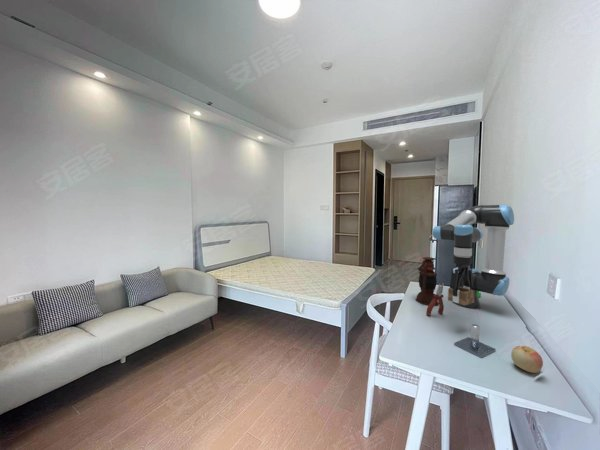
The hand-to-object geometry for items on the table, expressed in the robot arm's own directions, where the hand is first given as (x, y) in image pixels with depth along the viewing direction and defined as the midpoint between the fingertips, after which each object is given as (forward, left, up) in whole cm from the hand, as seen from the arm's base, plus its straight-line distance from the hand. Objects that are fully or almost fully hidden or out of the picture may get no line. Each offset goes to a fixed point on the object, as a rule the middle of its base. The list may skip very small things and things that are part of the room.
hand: (460, 300), depth 121 cm
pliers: (-6, -17, -16) cm, 24 cm away
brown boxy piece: (0, 0, 0) cm, 0 cm away
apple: (+8, +29, -16) cm, 34 cm away
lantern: (-20, -32, -16) cm, 41 cm away
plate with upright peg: (+10, +12, -15) cm, 22 cm away
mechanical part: (-63, -29, -16) cm, 71 cm away
